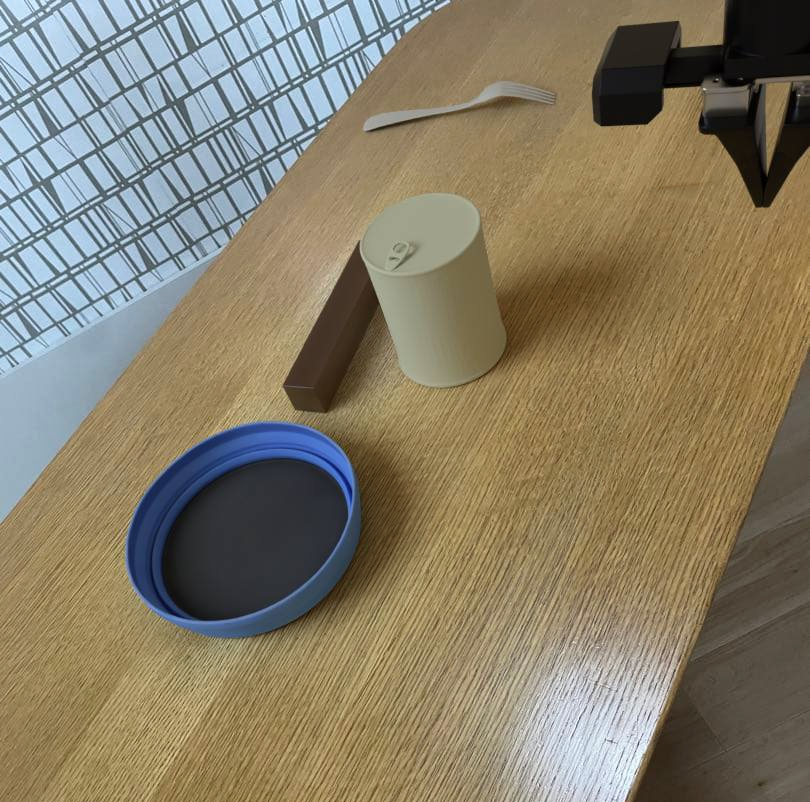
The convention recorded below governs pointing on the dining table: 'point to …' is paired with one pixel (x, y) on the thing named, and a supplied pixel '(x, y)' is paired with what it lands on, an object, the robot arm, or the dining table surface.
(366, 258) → the can
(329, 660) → the dining table surface
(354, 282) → the rail
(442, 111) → the fork
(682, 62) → the robot arm
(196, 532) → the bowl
